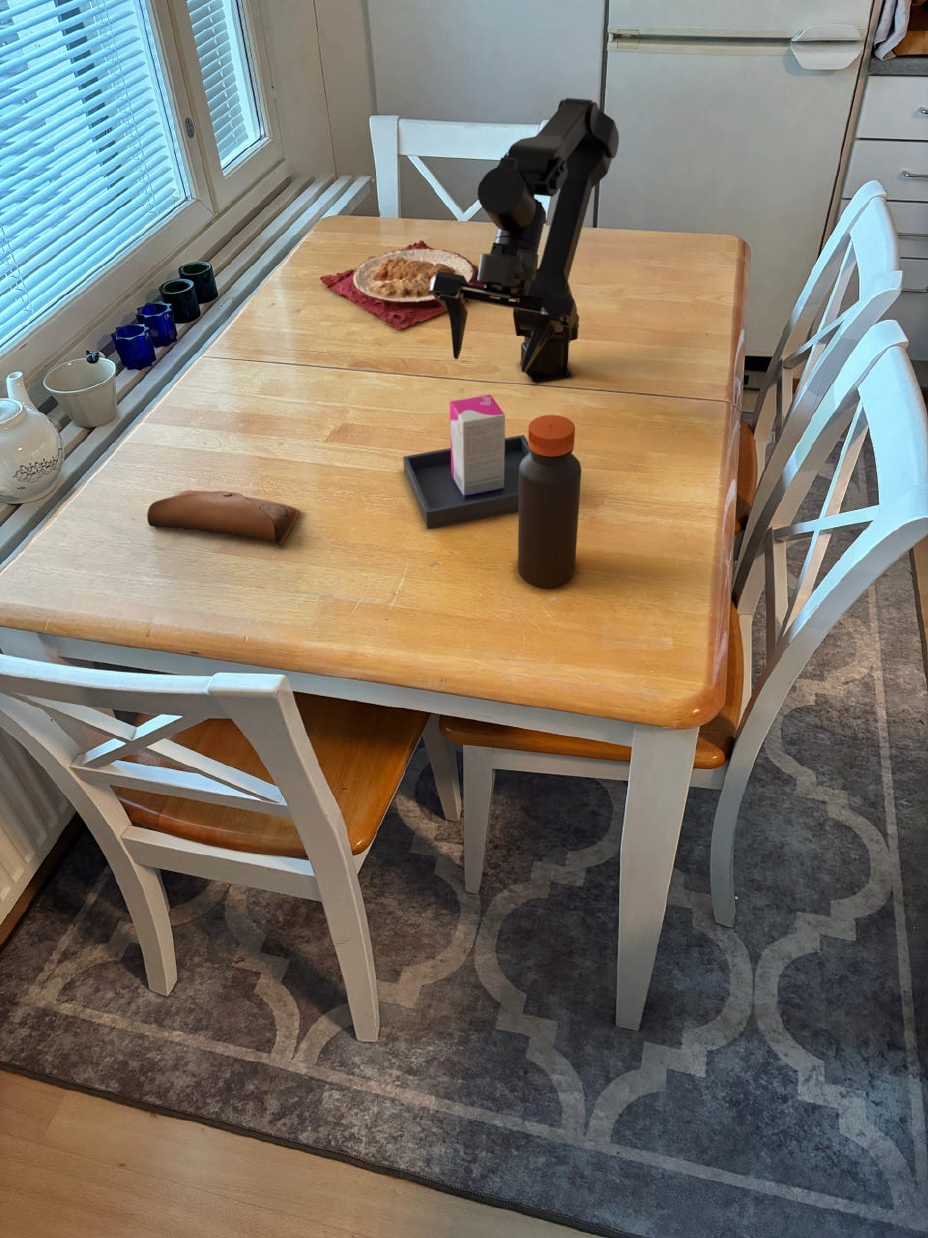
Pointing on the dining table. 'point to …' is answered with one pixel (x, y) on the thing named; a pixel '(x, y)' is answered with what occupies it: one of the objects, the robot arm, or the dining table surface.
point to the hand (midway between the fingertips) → (489, 365)
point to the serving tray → (442, 495)
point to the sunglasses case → (225, 515)
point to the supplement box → (477, 446)
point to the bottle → (548, 503)
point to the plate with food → (401, 282)
